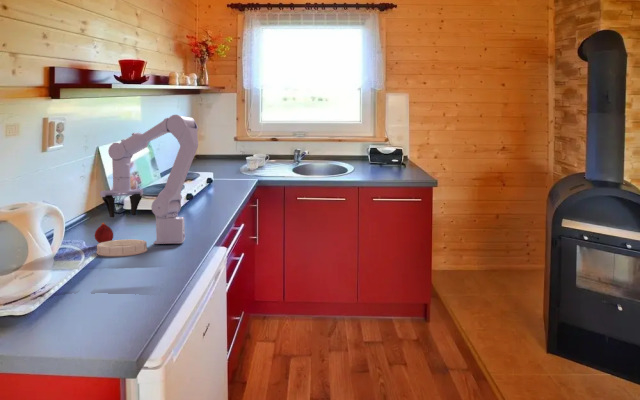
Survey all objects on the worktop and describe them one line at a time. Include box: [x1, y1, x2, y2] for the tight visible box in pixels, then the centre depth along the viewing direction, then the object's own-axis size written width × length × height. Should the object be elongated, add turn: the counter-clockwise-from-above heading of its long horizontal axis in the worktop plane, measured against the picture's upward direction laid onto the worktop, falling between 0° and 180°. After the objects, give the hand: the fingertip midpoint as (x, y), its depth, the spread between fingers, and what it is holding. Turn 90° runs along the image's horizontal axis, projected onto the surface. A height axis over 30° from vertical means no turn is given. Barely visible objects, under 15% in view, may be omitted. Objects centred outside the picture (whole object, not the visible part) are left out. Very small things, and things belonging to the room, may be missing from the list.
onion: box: [94, 222, 114, 244], centre depth 165 cm, size 6×6×8 cm
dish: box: [96, 239, 148, 258], centre depth 155 cm, size 15×15×3 cm
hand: (122, 216), depth 171 cm, fingers open, 7 cm apart
